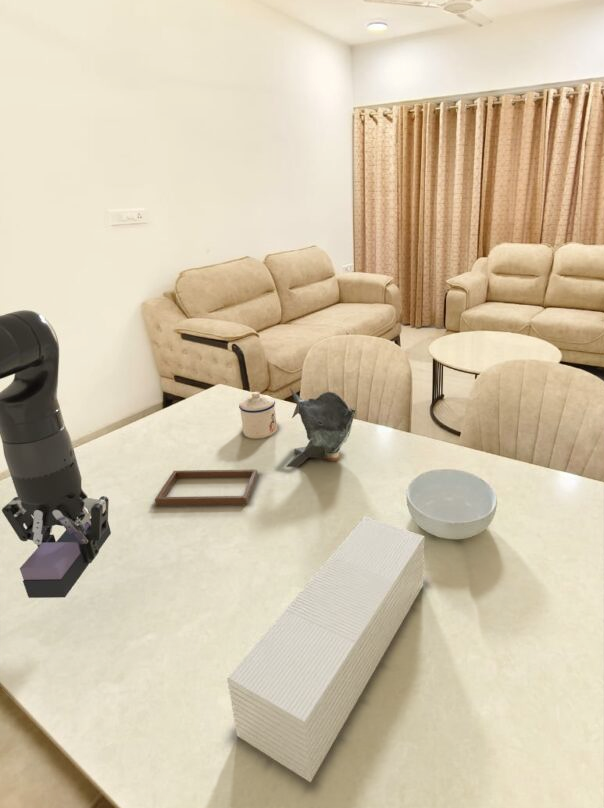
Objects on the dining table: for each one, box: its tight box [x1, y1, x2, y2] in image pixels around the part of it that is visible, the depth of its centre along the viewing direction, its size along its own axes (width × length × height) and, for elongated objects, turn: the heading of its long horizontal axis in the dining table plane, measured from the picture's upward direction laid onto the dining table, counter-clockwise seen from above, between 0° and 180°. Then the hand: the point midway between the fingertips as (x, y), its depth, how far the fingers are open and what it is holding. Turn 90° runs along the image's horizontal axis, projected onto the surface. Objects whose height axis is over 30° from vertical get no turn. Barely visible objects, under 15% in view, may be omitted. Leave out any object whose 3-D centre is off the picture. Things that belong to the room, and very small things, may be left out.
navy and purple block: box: [19, 517, 112, 599], centre depth 73 cm, size 5×13×5 cm, turn 0°
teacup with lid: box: [238, 391, 278, 439], centre depth 131 cm, size 12×9×12 cm
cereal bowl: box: [405, 468, 498, 540], centre depth 96 cm, size 17×17×7 cm
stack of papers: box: [226, 516, 425, 783], centre depth 69 cm, size 32×11×11 cm, turn 152°
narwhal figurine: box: [285, 386, 356, 469], centre depth 115 cm, size 14×15×18 cm
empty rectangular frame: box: [154, 469, 259, 507], centre depth 107 cm, size 19×11×2 cm, turn 90°
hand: (72, 559), depth 74 cm, fingers closed on navy and purple block, 5 cm apart
